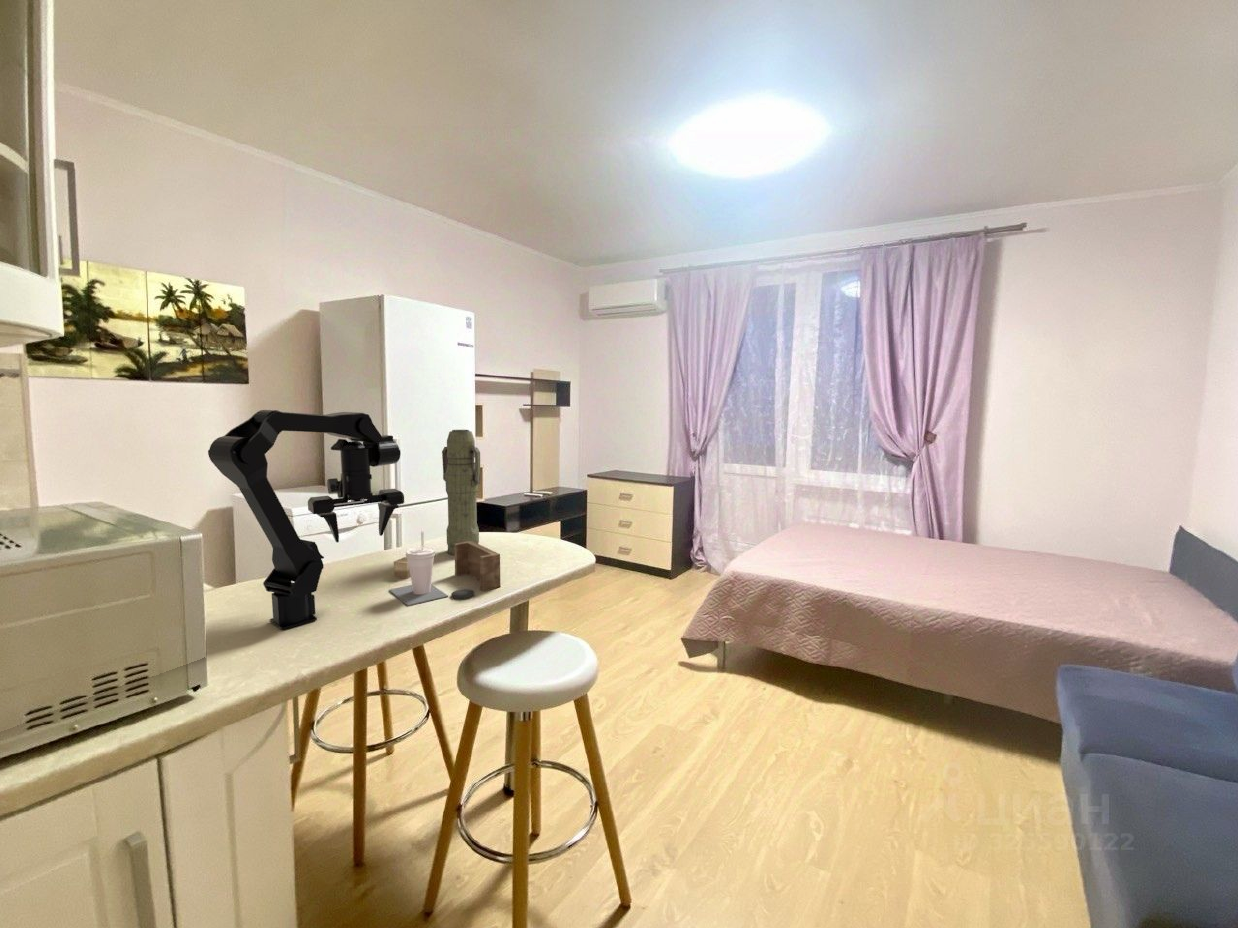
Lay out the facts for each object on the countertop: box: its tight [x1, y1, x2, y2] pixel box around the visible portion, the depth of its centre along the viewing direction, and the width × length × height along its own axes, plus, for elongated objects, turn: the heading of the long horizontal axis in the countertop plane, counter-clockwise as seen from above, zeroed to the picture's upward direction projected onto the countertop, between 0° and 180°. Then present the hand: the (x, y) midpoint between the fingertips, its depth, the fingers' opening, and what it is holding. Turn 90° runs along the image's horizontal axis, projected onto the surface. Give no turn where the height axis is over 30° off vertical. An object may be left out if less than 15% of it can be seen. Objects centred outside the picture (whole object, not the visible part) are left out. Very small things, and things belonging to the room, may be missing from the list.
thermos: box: [441, 429, 481, 556], centre depth 161 cm, size 9×12×35 cm
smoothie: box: [405, 531, 436, 595], centre depth 128 cm, size 6×6×14 cm
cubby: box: [454, 541, 501, 592], centre depth 138 cm, size 5×15×8 cm, turn 40°
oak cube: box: [393, 556, 411, 580], centre depth 141 cm, size 4×4×4 cm
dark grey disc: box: [450, 588, 475, 601], centre depth 128 cm, size 5×5×1 cm
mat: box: [388, 583, 449, 607], centre depth 129 cm, size 9×12×1 cm
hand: (359, 538), depth 126 cm, fingers open, 9 cm apart
